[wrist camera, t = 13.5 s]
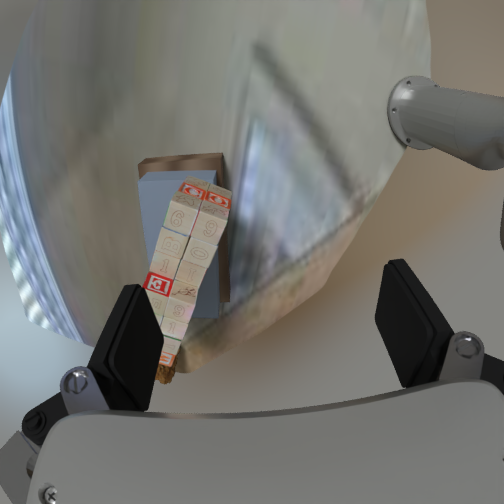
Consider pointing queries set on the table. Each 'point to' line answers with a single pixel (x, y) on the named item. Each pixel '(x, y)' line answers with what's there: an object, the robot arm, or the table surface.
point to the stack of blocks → (184, 257)
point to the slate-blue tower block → (153, 214)
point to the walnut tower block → (216, 163)
